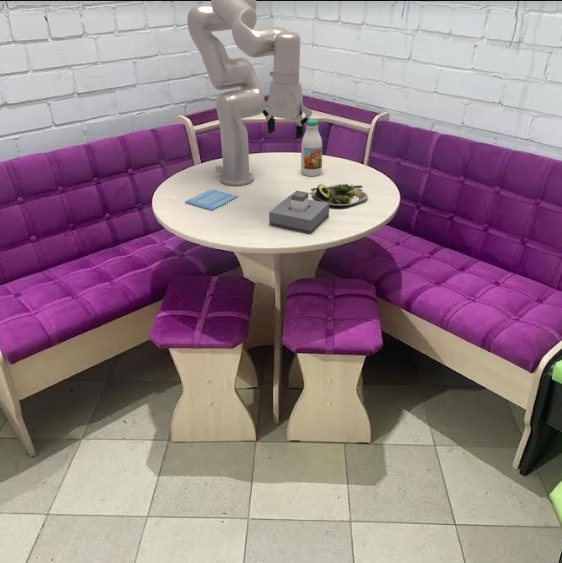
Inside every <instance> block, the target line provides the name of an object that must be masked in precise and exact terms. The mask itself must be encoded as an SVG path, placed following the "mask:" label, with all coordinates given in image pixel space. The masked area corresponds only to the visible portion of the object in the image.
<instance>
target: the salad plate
mask: <svg viewBox="0 0 562 563" xmlns="http://www.w3.org/2000/svg"><path fill="white" fill-rule="evenodd" d="M360 189H363V185H361V184H360V185H354V184H351V185H349V184H348V183H346V184H345V183H342V184H334V185H331V186H326V185H325V184H321V183H320V184H318V185H317V187H314V188H313V187H312V188H311V189H310V191H312V193H311V195H312V198H313V200H315V201H320V202H326V203H329V209H330V208H331V209H347V208H350V207H352V206H355V205H359V204H360V203H363V202H364V201H366V200H367V199H368V193H366V192H364V191H361V190H360ZM352 196H356V197H355V198H357V197H358V198H359V200H358V198H357V200H358V201H357V200H356V201H357V202H356V201H355V202H353V201H352V198H353V197H352ZM351 197H352V198H351Z"/></svg>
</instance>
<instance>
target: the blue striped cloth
mask: <svg viewBox="0 0 562 563" xmlns="http://www.w3.org/2000/svg"><path fill="white" fill-rule="evenodd" d="M236 198H237V199H238V198H239V196H238V195H236V194H233V193H228V192H224V191H221V190H217V189H214V188H213V189H211V188H210V189H207V190H206V191H204V192H201V193H200V194H198V195H195V196H193V197H191V198H189V199H187V200H185V201H184V204H186V205H190V206H193V207H196V208H199V209H203V210H206V211H209V210H210V211H209V212H213V210H214V211H215V209H216V210H218V209H219V207H220V208H222V207H224V206H225V205H227V204H229V203H231V202H233V201H235V200H237V199H236ZM234 199H235V200H234ZM232 200H233V201H232ZM230 201H231V202H230ZM228 202H229V203H228ZM226 203H227V204H226ZM221 206H222V207H221ZM217 208H218V209H217Z"/></svg>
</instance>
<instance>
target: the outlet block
mask: <svg viewBox="0 0 562 563" xmlns="http://www.w3.org/2000/svg"><path fill="white" fill-rule="evenodd" d="M329 216H330V207H329V203H326V202H320V201H316V200H315V199H310V198H308V209H307V210H306V211H305V212H299V211H294V210H291V195H288V196H287V197H286V198H284V200H282V201H281V202H279V203H278V204H277V205H276V206H274V207H273V208H272V209H271V210H269V211H268V222H269V223H268V224H269V226H270V227H275V228H281V229H286V230H290V231H294V232H300V233H303V234H304V233H305V234H309V235H310V234H313V232H314V231H315V230H316V229H317V228H318V227H319V226H321V224H323V223H324V222H325V220H327V218H329Z"/></svg>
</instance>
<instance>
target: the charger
mask: <svg viewBox="0 0 562 563" xmlns="http://www.w3.org/2000/svg"><path fill="white" fill-rule="evenodd" d="M290 196H291V210H294V211H299V212H305V211H306V210H307V209H308V199H309V192H307V191H301V190H295V191H294V192H293V193H291V194H290Z"/></svg>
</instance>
